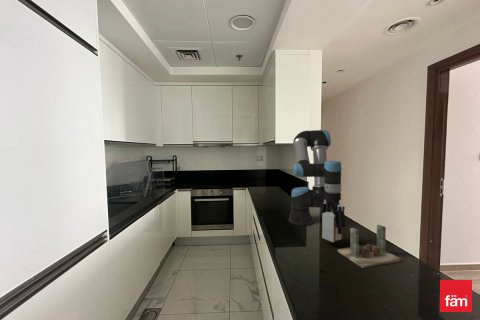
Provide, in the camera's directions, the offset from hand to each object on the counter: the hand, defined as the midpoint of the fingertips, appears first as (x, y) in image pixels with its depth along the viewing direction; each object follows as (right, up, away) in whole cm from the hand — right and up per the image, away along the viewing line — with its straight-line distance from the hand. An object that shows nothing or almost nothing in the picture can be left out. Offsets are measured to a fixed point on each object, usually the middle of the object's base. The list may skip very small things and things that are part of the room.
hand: (332, 235), depth 99 cm
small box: (0, -2, 0) cm, 1 cm away
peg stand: (+11, -5, -11) cm, 16 cm away
